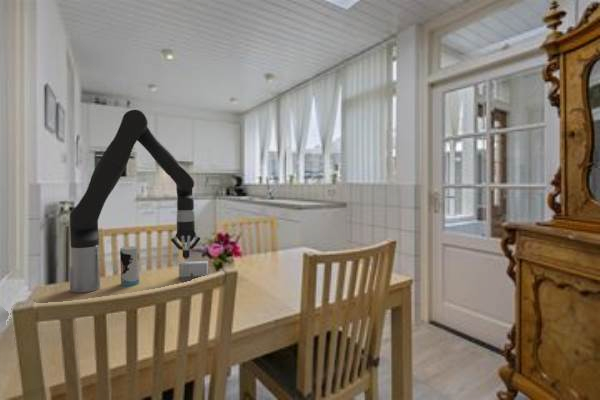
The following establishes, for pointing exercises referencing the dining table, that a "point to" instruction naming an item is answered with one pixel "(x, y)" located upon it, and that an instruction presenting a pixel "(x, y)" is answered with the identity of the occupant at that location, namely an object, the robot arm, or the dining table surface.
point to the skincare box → (193, 268)
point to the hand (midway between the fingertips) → (186, 258)
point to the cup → (129, 265)
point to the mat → (188, 278)
